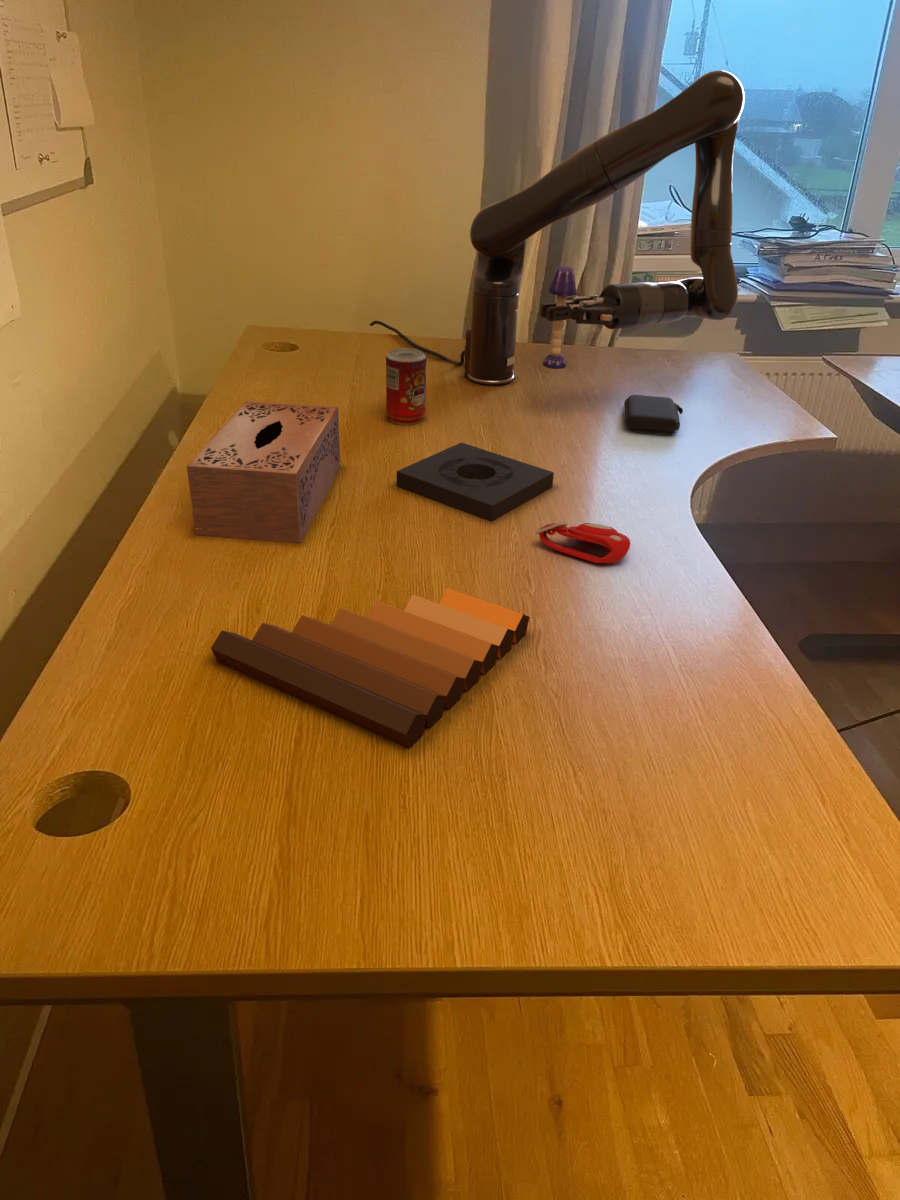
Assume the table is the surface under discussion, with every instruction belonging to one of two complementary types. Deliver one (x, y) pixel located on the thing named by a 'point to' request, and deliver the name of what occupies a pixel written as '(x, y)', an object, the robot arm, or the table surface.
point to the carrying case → (651, 414)
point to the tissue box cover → (265, 472)
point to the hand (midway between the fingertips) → (544, 312)
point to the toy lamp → (562, 288)
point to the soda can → (405, 385)
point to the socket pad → (485, 498)
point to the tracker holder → (588, 540)
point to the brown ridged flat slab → (381, 659)
